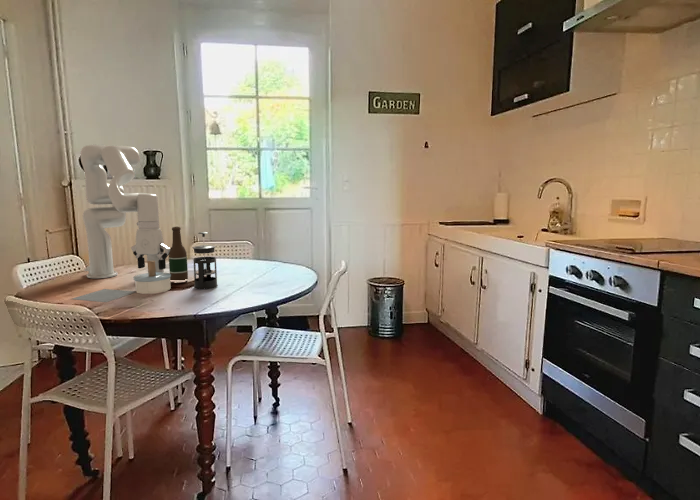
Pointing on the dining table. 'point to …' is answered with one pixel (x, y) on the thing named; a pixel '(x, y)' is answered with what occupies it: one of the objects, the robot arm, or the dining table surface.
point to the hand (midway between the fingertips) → (151, 268)
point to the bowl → (153, 286)
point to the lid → (151, 274)
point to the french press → (205, 281)
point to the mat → (104, 295)
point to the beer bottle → (177, 257)
